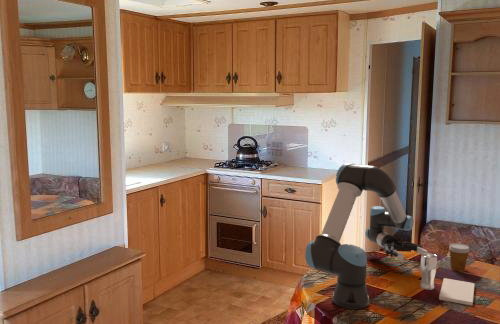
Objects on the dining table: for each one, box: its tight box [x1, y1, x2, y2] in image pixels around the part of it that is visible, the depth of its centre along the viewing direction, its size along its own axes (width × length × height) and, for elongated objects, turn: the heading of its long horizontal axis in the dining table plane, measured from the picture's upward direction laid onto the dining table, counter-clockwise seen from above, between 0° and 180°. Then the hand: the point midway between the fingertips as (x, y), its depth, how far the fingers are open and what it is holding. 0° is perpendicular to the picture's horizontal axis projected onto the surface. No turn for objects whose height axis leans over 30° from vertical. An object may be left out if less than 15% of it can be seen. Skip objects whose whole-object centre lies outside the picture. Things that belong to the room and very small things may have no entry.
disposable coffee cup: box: [448, 242, 471, 272], centre depth 235 cm, size 10×10×12 cm
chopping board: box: [438, 277, 475, 306], centre depth 209 cm, size 22×13×2 cm, turn 153°
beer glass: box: [419, 252, 438, 291], centre depth 213 cm, size 7×7×15 cm
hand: (414, 255), depth 222 cm, fingers open, 13 cm apart
